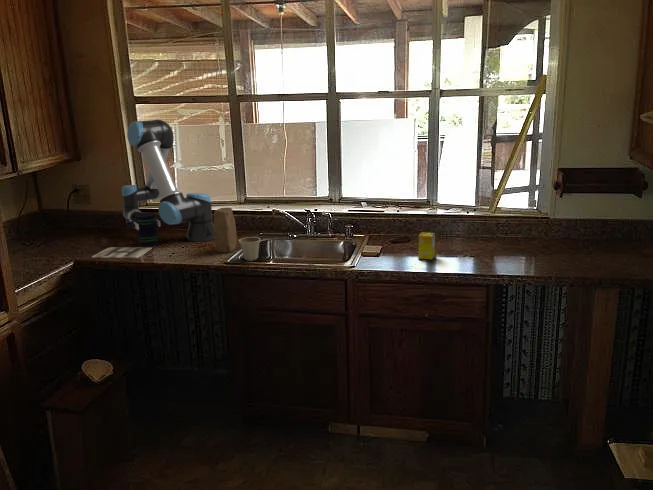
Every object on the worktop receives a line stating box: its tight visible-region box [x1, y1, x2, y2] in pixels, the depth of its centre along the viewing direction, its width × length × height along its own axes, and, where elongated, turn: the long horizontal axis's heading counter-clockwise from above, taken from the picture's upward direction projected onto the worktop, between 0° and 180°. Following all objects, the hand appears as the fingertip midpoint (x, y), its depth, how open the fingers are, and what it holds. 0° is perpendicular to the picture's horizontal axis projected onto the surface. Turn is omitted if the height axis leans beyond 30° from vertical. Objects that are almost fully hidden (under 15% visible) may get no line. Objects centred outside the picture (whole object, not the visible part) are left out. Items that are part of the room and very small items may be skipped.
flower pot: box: [238, 236, 261, 261], centre depth 255 cm, size 9×9×9 cm
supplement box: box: [417, 231, 436, 262], centre depth 246 cm, size 6×6×11 cm
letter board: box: [91, 246, 153, 259], centre depth 271 cm, size 22×16×1 cm
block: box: [213, 207, 238, 254], centre depth 268 cm, size 11×8×20 cm
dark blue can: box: [135, 211, 160, 247], centre depth 286 cm, size 10×10×15 cm
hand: (148, 225), depth 281 cm, fingers closed on dark blue can, 10 cm apart
